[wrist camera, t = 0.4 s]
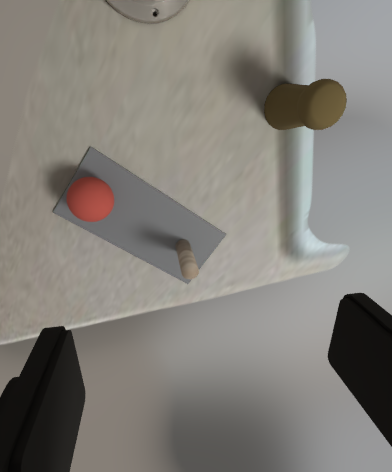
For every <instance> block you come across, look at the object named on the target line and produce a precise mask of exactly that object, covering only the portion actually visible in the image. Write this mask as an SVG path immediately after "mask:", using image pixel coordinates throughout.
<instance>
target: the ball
mask: <svg viewBox="0 0 392 472" xmlns="http://www.w3.org/2000/svg"><path fill="white" fill-rule="evenodd" d="M67 205H68V207H69V209H70V211H71V212H72V214H73V215H74V216H76V217H77V218H79V219H81V220H83V221H87V222H96V221H100V220H102V219H104V218H105V217H107V216H108V215H109V214H110V212H111V211H112V209H113V206H114V195H113V192H112V190H111V188H110V187H109V185H108V184H107V183H105V182H104V181H103V180H101V179H98V178H95V177H84V178H80V179H78V180H77V181H75V182H74V183H73V184H72V185H71V186H70V188H69V189H68V192H67Z"/></svg>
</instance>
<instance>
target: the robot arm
mask: <svg viewBox="0 0 392 472" xmlns="http://www.w3.org/2000/svg"><path fill="white" fill-rule="evenodd" d="M106 1H107V2H108V3H109V4H110V5H111V6H112V7H113V8H114V9H115V10H116V11H118V12H119V13H120V14H122V15H124V16H125V17H127V18H129V19H131V20H134V21H137V22H140V23H147V24H152V23H160V22H163V21H166V20H169V19H170V18H172V17H174V16H175V15H177V14H178V13H179V12H180V11H181V10H182V9H183V8H184V7H185V6H186V4H187V3H188V1H189V0H106ZM153 13H156V14H157V17H154V16H153ZM328 360H329V362H330V364H331V366H332V367H333V368H334V370H335V371H336V373H337V374H338V375H339V377H340V378H341V379H342V381H343V382H344V383H345V385H346V386H347V387H348V389H349V390H350V391H351V393H352V394H353V395H354V396H355V398H356V399H357V401H358V402H359V404H360V405H361V406H362V408H363V409H364V410H365V412H366V413H367V414H368V416H369V417H370V418H371V420H372V421H373V422H374V423H375V425H376V426H377V428H378V429H379V430H380V432H381V433H382V434H383V436H384V437H385V438H386V440H387V441H388V442H389V444H390V445H391V446H392V315H390V314H389V313H388V312H387V311H385V310H384V309H383V308H382V307H380V306H379V305H378V304H377V303H376V302H374V301H373V300H372V299H371V298H369V297H368V296H367V295H365V294H364V293H354V294H347V295H345V296H344V298H343V299H342V300H340V303H339V307H338V312H337V316H336V321H335V325H334V329H333V334H332V338H331V343H330V347H329V351H328ZM84 402H85V387H84V383H83V379H82V375H81V370H80V366H79V361H78V357H77V353H76V349H75V345H74V340H73V336H72V332H71V330H66V329H65V327H64V326H59V327H50V328H44V329H43V330H42V331H41V333H40V335H39V337H38V339H37V341H36V343H35V345H34V347H33V349H32V352H31V353H30V356H29V357H28V360H27V362H26V364H25V366H24V368H23V370H22V372H21V374H20V376H19V377H14V378H12V379H11V380H10V381H9V383H8V384H7V385H6V388H5V389H4V391H3V393H2V395H1V397H0V472H70V467H71V463H72V458H73V453H74V449H75V444H76V440H77V435H78V430H79V425H80V421H81V417H82V412H83V407H84Z"/></svg>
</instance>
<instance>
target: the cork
mask: <svg viewBox="0 0 392 472" xmlns="http://www.w3.org/2000/svg"><path fill="white" fill-rule="evenodd" d="M346 100H347V99H346V93H345V91H344V89H343V87H342V86H341V85H340V84H339V83H338V82H336V81H334V80H331V79H321V80H318V81H315V82H313V83H311V84H310V85H298V84H282V85H279V86H277V87H276V88H274V89H273V90H272V91H271V92H270V94H269V95H268V97H267V99H266V102H265V108H264V113H265V117H266V120H267V121H268V123H269V125H271V126H272V127H273V128H275V129H278V130H286V129H291V128H296V127H301V126H306V127H307V128H310V129H313V130H323V129H325V128H328V127H330V126H332V125H333V124H335V123H336V122H337V121H338V120H339V119H340V117H341V116H342V114H343V112H344V110H345V108H346Z"/></svg>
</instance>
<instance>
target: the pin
mask: <svg viewBox="0 0 392 472" xmlns="http://www.w3.org/2000/svg"><path fill="white" fill-rule="evenodd" d="M176 251H177V256H178V260H179V265H180V269H181V274H182V276H183V277H184V278H186V279H193V278H195V277H196V276H197V275H198V273H199V269H198V266H197V263H196V260H195V257H194V254H193V251H192V248H191V245H190V243H189V241H187V240H185V239H181V240H179V241H178V242H177V243H176Z"/></svg>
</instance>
